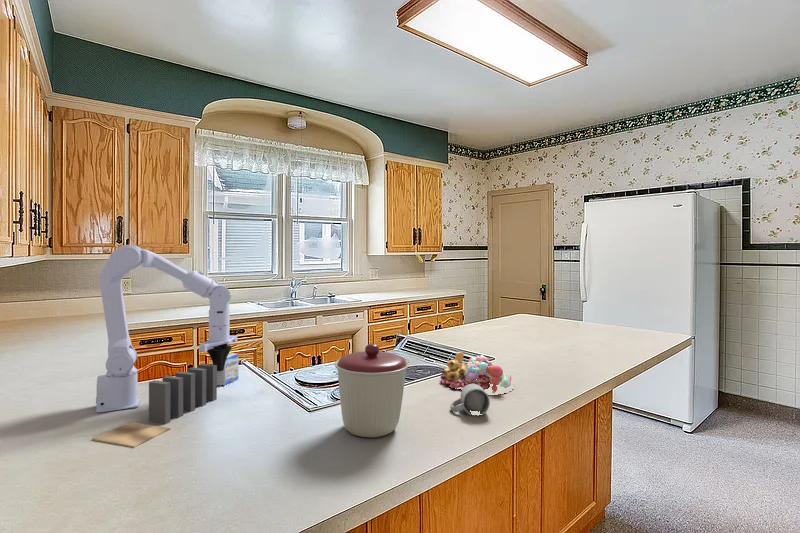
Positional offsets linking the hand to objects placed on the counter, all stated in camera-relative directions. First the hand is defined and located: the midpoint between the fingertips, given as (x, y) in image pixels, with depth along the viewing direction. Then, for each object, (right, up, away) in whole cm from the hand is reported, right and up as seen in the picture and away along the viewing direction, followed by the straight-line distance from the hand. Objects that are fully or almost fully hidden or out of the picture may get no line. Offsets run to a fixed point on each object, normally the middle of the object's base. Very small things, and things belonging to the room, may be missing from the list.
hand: (219, 370), depth 129 cm
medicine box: (-3, -7, +12) cm, 14 cm away
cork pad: (-8, -8, -29) cm, 31 cm away
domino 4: (-3, -7, -9) cm, 12 cm away
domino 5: (-1, -7, -5) cm, 9 cm away
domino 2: (-5, -8, -17) cm, 19 cm away
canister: (+47, -9, -23) cm, 53 cm away
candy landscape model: (+80, -9, +17) cm, 82 cm away
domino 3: (-4, -8, -13) cm, 15 cm away
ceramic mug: (+73, -9, -10) cm, 75 cm away
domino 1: (-6, -8, -21) cm, 23 cm away
